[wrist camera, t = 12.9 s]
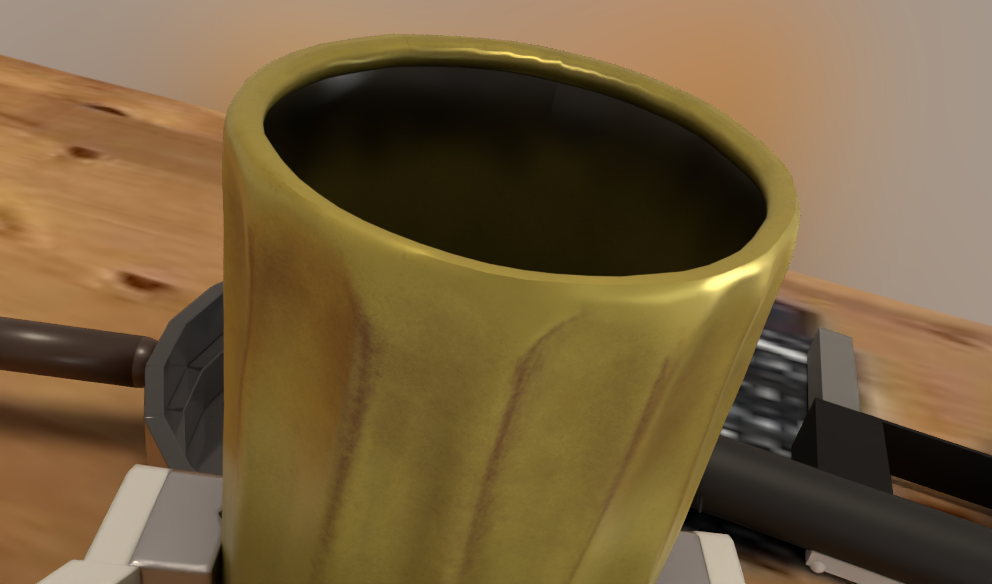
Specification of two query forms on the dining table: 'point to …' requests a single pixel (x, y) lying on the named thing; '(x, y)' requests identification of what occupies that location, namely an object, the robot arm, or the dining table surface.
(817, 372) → the gun
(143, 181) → the dining table surface
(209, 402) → the pan
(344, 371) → the vase
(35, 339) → the pan handle
